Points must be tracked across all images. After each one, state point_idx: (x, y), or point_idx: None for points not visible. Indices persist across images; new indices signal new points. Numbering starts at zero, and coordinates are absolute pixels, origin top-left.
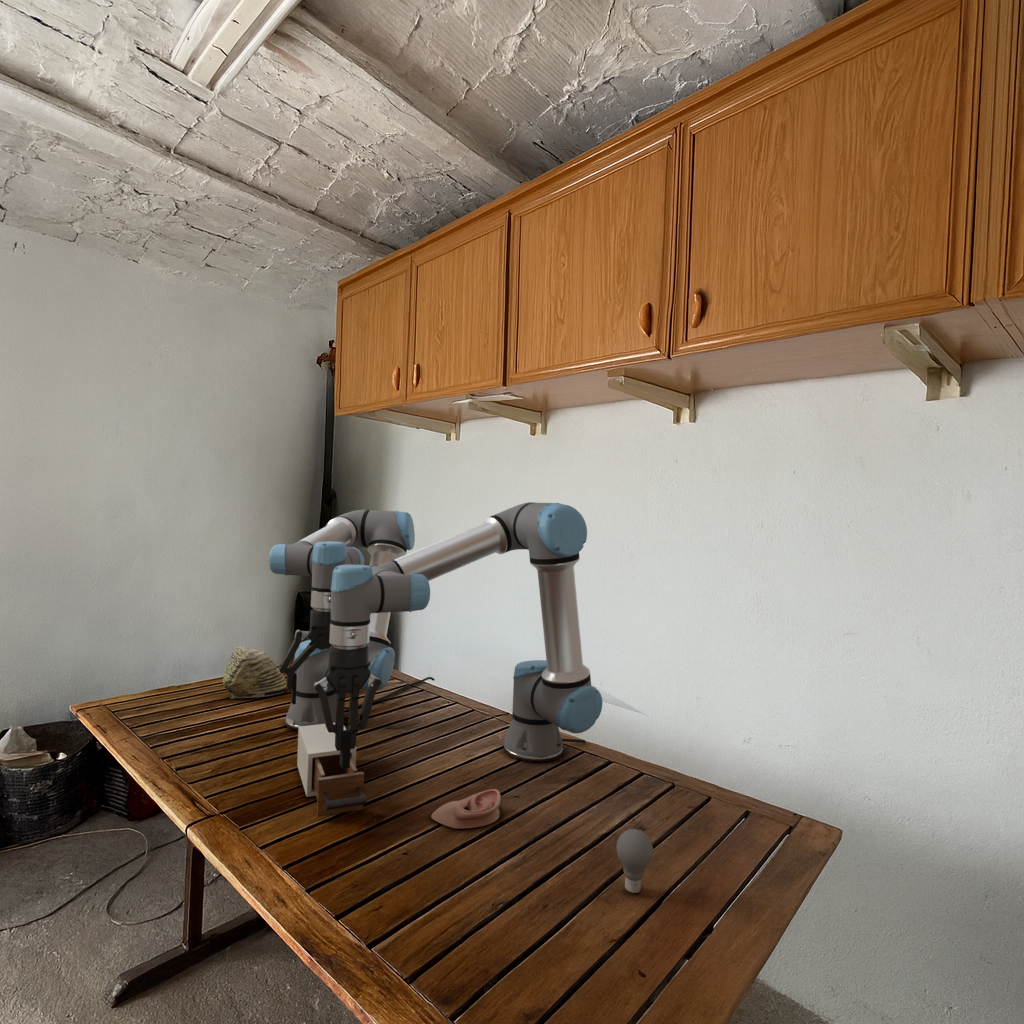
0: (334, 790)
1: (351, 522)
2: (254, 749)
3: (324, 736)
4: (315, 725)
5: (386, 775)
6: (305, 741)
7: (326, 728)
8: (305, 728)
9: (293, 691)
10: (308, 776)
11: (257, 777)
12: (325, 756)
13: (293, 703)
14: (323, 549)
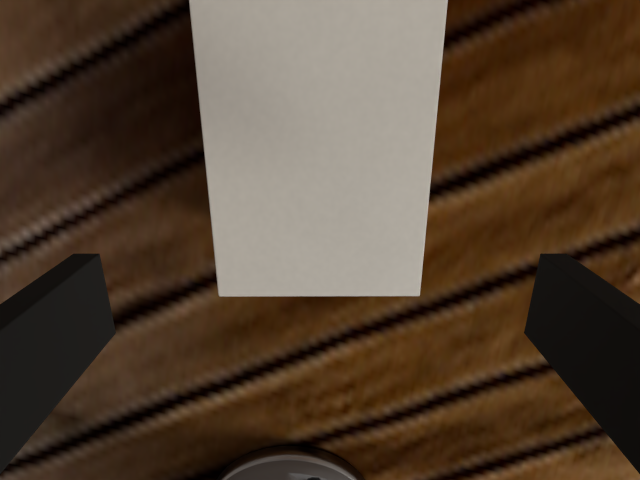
0: None
1: None
2: (486, 381)
3: (326, 129)
4: (344, 286)
5: (99, 43)
6: (432, 86)
7: (301, 235)
8: (395, 264)
9: (632, 303)
10: None
11: (524, 181)
12: None
13: (561, 256)
14: None
